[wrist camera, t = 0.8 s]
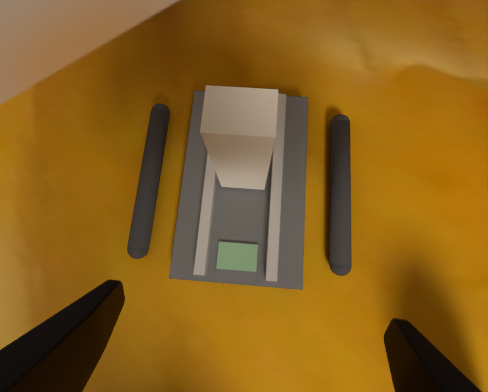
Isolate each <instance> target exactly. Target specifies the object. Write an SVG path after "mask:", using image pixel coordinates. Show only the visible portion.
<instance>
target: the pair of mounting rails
mask: <svg viewBox="0 0 488 392" xmlns="http://www.w3.org/2000/svg"><path fill="white" fill-rule="evenodd" d="M169 116H170V112H169V109H168V108H167V106H165V105H164V104H156V105H154V106H153V107H152V110H151V115H150V121H149V126H148V132H147V138H146V143H145V149H144V155H143V161H142V166H141V172H140V178H139V184H138V189H137V195H136V201H135V207H134V212H133V218H132V224H131V230H130V235H129V241H128V247H127V251H128V254H129V255H130V256H131V257H132V258H135V259H139V258H142V257H144V256H145V255H146V254H147V253H148V250H149V244H150V238H151V231H152V225H153V218H154V212H155V206H156V199H157V193H158V186H159V180H160V174H161V167H162V161H163V154H164V148H165V142H166V135H167V129H168V122H169ZM330 268H331V270H332V272H333V273H335V274H336V275H340V276H343V275H346V274H348V273H349V272H350V270H351V175H350V120H349V118H348V117H347V116H345V115H337V116H335V117H334V118H333V119H332V121H331V132H330Z"/></svg>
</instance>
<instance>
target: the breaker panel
mask: <svg viewBox="0 0 488 392" xmlns="http://www.w3.org/2000/svg"><path fill="white" fill-rule="evenodd" d="M204 96H205V91H194V99H193V106H192V113H191V121H190V128H189V135H188V143H187V150H186V157H185V165H184V172H183V179H182V187H181V194H180V201H179V209H178V216H177V223H176V231H175V238H174V245H173V253H172V260H171V267H170V275H169V278H171V279H183V280H195V281H206V282H218V283H230V284H241V285H253V286H265V287H276V288H288V289H300V290H303V255H304V220H305V185H306V151H307V116H308V97H298V96H286V94H278V106H277V123H276V138H275V143H274V147H273V152H272V157H271V161H270V166H269V170H268V175H267V179H266V184H265V189H264V190H258V189H244V188H230V187H221V184H220V182H219V179H218V177H217V174H216V172H215V169H214V167H213V164H212V162H211V159H210V157H209V154H208V152H207V149H206V147H205V144H204V142H203V139H202V137H201V134H200V127H201V119H202V111H203V103H204Z"/></svg>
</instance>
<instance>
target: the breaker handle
mask: <svg viewBox="0 0 488 392" xmlns="http://www.w3.org/2000/svg"><path fill="white" fill-rule="evenodd" d="M277 106H278V89H261V88H243V87H226V86H208V85H206V88H205V96H204V103H203V111H202V119H201V127H200V134H201V137H202V139H203V142H204V144H205V147H206V149H207V152H208V154H209V157H210V159H211V162H212V164H213V167H214V169H215V172H216V174H217V177H218V179H219V182H220V184H221V187H230V188H244V189H258V190H264V189H265V184H266V179H267V175H268V170H269V166H270V161H271V157H272V152H273V147H274V143H275V138H276V123H277Z"/></svg>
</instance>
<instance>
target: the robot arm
mask: <svg viewBox="0 0 488 392" xmlns="http://www.w3.org/2000/svg"><path fill="white" fill-rule="evenodd" d="M124 301H125V296H124V290H123V285H122V282H121V281H118V280H107V281H106V282H104V283H103V284H101V285H99V286H98V287H96V288H95V289H93V290H92V291H90V292H89V293H87V294H86V295H84V296H83V297H81V298H79V299H78V300H76V301H75V302H73V303H72V304H70V305H69V306H67V307H66V308H64V309H63V310H61V311H59V312H58V313H56V314H55V315H53V316H52V317H50V318H49V319H47V320H46V321H44V322H43V323H41V324H39V325H38V326H36V327H35V328H33V329H32V330H30V331H29V332H27V333H26V334H24V335H23V336H21V337H19V338H18V339H16V340H15V341H13V342H12V343H10V344H9V345H7V346H6V347H4V348H3V349H1V350H0V392H82V391H83V389H84V387H85V385H86V384H87V382H88V380H89V378H90V376H91V374H92V372H93V371H94V369H95V367H96V365H97V363H98V361H99V359H100V358H101V356H102V354H103V352H104V350H105V348H106V345H107V343H108V341H109V338H110V336H111V334H112V331H113V329H114V326H115V324H116V322H117V319H118V317H119V315H120V312H121V310H122V307H123V305H124ZM384 344H385V348H386V353H387V358H388V362H389V367H390V372H391V376H392V381H393V385H394V389H395V392H481V391H480V390H479V389H478V388H477V387H476V386H475V385H474V384H473V383H472V382H471V381H470V380H469V379H468V378H467V377H466V376H465V375H464V374H463V373H462V372H461V371H460V370H459V369H457V368H456V367H455V366H454V365H453V364H452V363H451V362H450V361H449V360H448V359H447V358H446V357H445V356H444V355H443V354H442V353H441V352H440V351H439V350H438V349H437V348H436V347H435V346H434V345H433V344H432V343H431V342H429V341H428V340H427V339H426V338H425V337H424V336H423V335H422V334H421V333H420V332H419V331H418V330H417V329H416V328H415V327H414V326H413V325H412V324H411V323H410V322H409V321H407V320H404V319H397V318H394V319H392V320H391V322H390V324H389V326H388V328H387V330H386V332H385V334H384Z"/></svg>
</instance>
